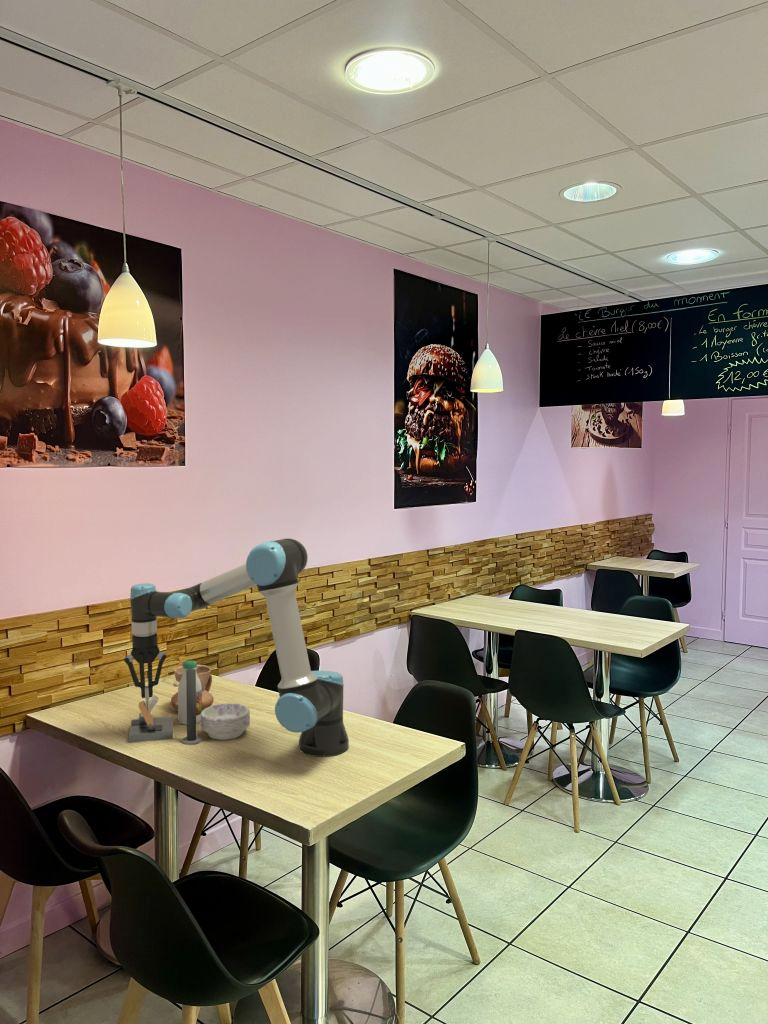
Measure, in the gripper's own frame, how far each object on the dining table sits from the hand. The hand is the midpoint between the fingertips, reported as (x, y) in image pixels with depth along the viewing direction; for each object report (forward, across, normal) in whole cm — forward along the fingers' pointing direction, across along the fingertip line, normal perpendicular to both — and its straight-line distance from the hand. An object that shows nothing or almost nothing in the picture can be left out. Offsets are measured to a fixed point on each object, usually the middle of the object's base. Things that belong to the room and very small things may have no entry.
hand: (147, 707), depth 238 cm
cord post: (+9, -13, +8) cm, 18 cm away
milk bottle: (+10, -13, -10) cm, 19 cm away
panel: (+9, -1, -2) cm, 10 cm away
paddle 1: (+5, +2, -6) cm, 9 cm away
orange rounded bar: (+5, -1, +1) cm, 5 cm away
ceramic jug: (+10, -14, -24) cm, 30 cm away
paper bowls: (+10, -23, +5) cm, 26 cm away
